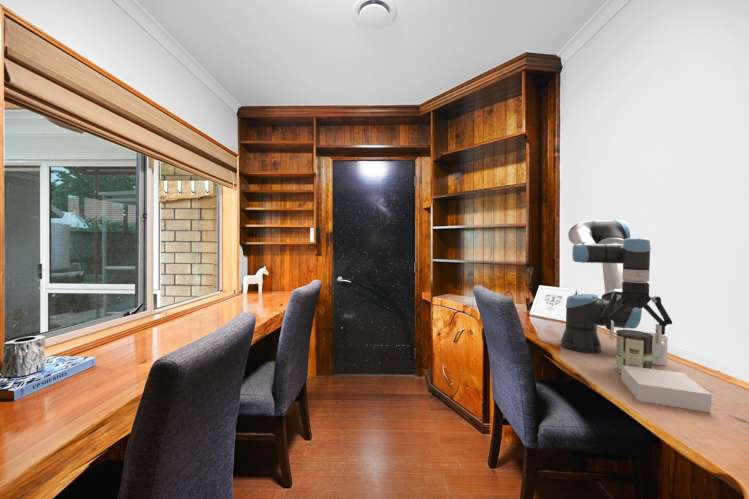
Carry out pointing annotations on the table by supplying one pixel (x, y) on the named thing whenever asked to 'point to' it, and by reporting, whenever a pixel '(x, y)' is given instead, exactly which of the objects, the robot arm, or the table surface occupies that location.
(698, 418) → the table surface
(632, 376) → the base
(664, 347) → the mug
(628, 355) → the coffee can
